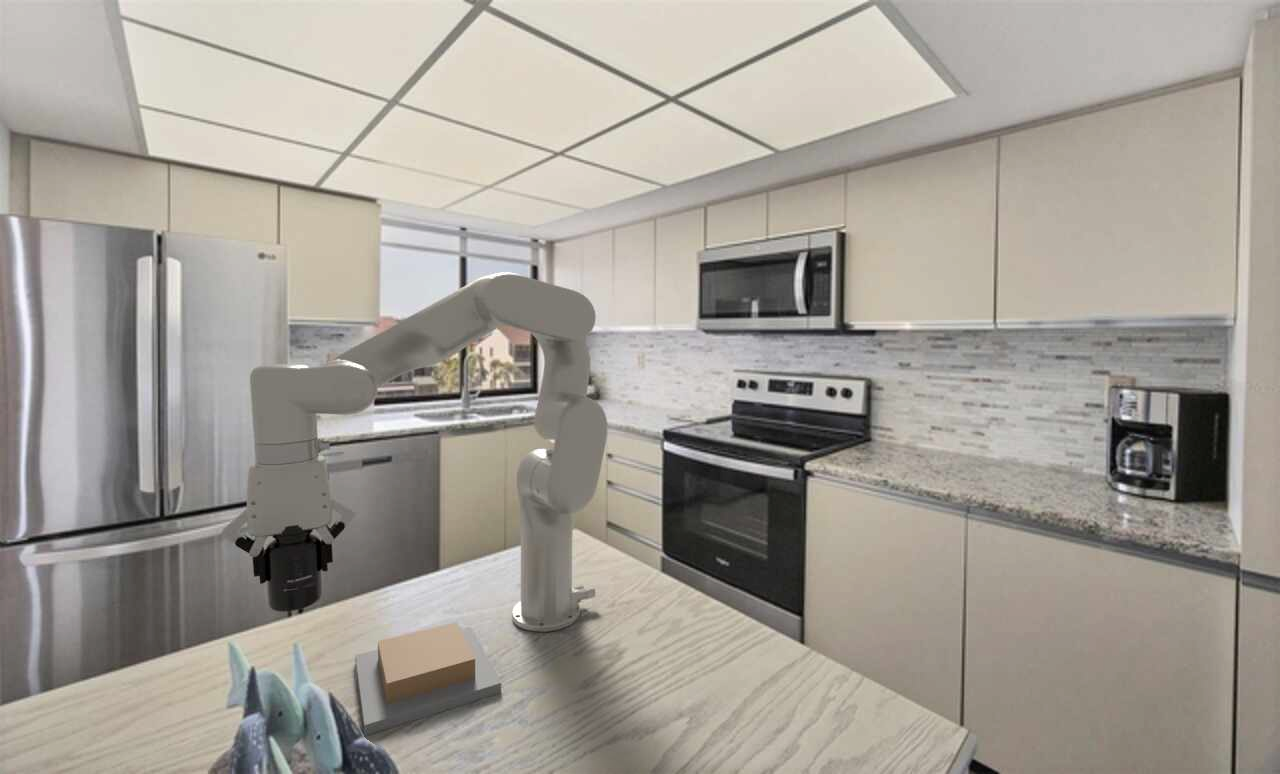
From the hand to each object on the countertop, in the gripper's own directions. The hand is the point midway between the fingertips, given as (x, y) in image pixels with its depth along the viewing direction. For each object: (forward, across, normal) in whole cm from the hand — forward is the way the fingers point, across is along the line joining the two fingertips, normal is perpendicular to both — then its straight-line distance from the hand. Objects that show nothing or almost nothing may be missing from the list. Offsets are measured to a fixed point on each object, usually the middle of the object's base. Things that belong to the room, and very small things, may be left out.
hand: (295, 572), depth 78 cm
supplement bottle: (+5, 0, 0) cm, 5 cm away
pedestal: (+18, -16, +6) cm, 25 cm away
